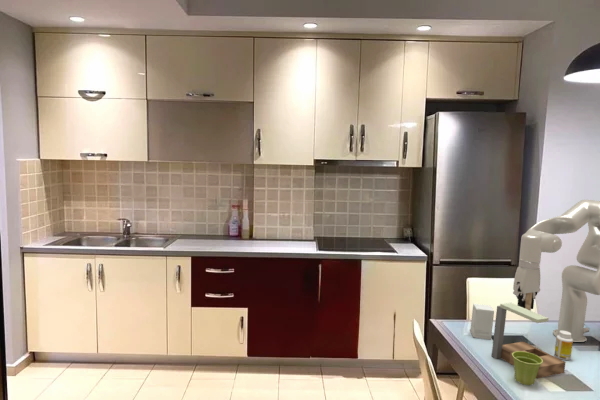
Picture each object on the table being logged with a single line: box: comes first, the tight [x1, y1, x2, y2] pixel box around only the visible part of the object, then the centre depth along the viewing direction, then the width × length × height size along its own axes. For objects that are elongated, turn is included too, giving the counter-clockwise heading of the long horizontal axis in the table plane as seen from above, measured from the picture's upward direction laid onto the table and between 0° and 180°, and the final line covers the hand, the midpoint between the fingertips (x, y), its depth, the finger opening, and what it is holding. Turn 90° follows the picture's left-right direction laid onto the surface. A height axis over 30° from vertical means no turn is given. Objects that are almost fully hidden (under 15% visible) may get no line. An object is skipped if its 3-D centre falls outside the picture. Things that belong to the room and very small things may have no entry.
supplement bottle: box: [553, 331, 574, 361], centre depth 176 cm, size 6×6×10 cm
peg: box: [521, 292, 532, 311], centre depth 183 cm, size 4×4×10 cm
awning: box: [491, 302, 550, 360], centre depth 166 cm, size 6×17×21 cm, turn 23°
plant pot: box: [512, 351, 543, 386], centre depth 155 cm, size 9×9×9 cm
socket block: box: [500, 341, 567, 379], centre depth 169 cm, size 14×18×4 cm
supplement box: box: [470, 303, 495, 341], centre depth 193 cm, size 7×7×13 cm
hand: (525, 308), depth 184 cm, fingers closed on peg, 4 cm apart
